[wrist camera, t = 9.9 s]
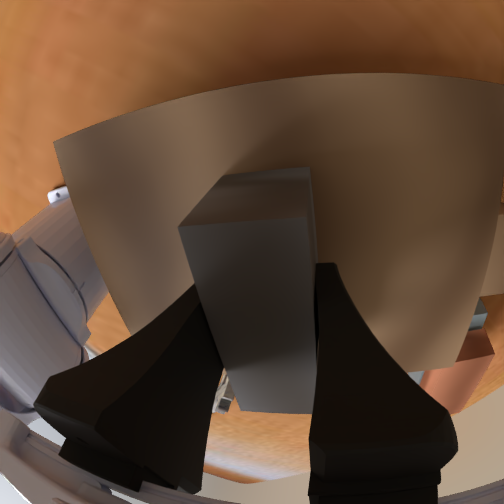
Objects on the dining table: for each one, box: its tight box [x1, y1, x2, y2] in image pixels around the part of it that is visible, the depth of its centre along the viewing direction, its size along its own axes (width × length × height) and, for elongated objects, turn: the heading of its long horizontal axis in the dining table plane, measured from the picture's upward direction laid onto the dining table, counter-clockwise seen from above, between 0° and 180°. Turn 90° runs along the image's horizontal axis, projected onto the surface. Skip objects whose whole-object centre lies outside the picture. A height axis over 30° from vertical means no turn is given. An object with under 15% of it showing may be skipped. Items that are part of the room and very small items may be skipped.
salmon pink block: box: [419, 329, 495, 414], centre depth 18 cm, size 4×8×2 cm, turn 10°
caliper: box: [212, 374, 235, 414], centre depth 33 cm, size 20×1×6 cm, turn 155°
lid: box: [53, 73, 504, 414], centre depth 11 cm, size 22×14×6 cm, turn 99°
